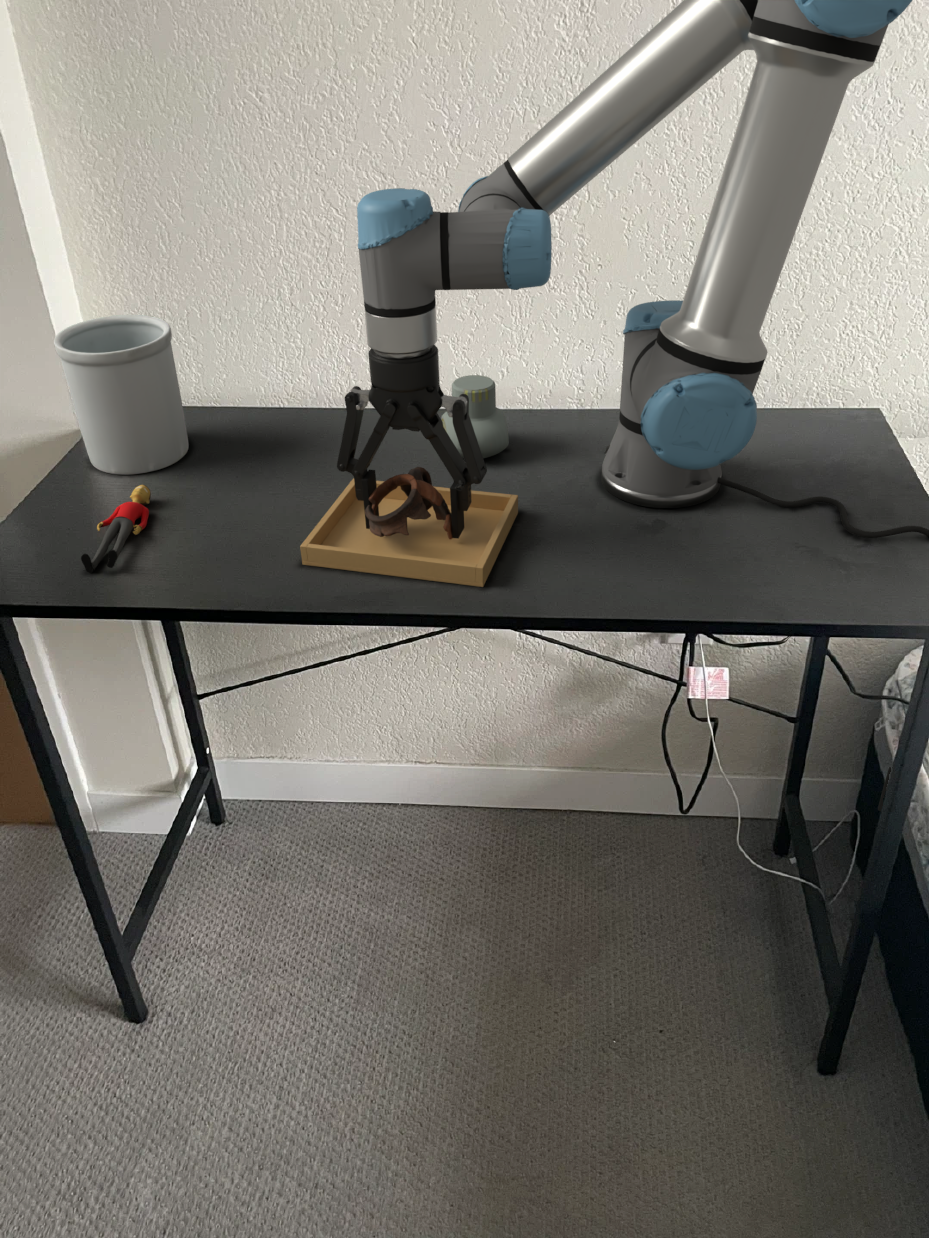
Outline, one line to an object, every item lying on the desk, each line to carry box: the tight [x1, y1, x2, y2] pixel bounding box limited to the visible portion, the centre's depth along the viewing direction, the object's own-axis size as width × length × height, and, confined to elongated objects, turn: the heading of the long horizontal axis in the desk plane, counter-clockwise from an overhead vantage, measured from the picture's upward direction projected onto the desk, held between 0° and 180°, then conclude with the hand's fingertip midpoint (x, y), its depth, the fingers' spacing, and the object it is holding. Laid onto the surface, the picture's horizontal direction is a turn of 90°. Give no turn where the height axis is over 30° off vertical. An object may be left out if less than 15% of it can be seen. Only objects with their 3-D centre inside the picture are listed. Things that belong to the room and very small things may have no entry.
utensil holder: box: [53, 314, 190, 476], centre depth 139 cm, size 15×15×18 cm
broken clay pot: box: [365, 466, 452, 539], centre depth 121 cm, size 12×10×8 cm
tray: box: [299, 477, 519, 588], centre depth 122 cm, size 22×18×2 cm
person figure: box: [80, 484, 152, 574], centre depth 124 cm, size 5×4×18 cm
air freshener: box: [441, 374, 510, 459], centre depth 139 cm, size 11×8×10 cm
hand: (415, 528), depth 122 cm, fingers closed on broken clay pot, 10 cm apart
